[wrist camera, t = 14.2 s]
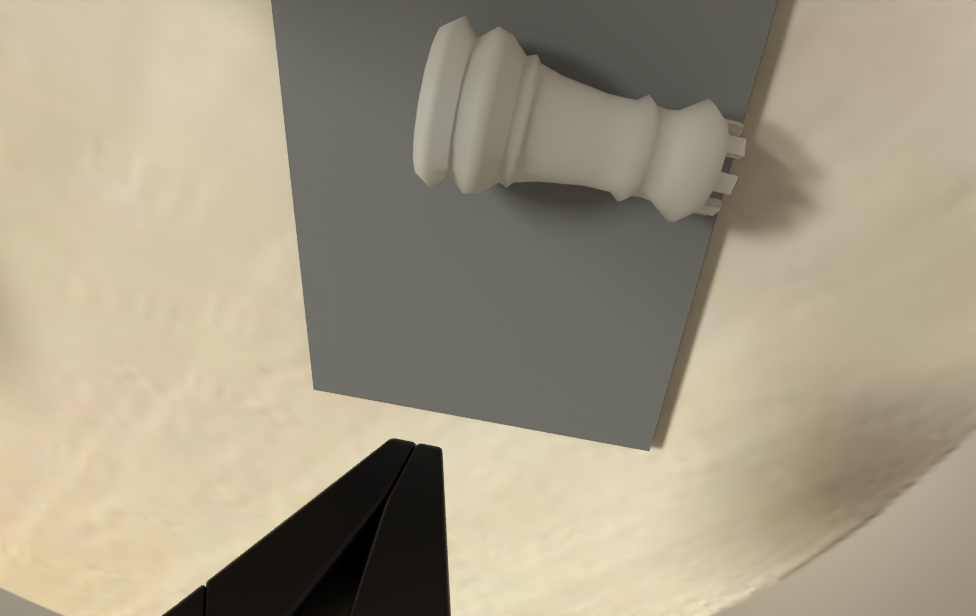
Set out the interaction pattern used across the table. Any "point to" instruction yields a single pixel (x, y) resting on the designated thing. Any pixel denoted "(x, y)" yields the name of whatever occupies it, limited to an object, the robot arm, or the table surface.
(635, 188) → the rook chess piece
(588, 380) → the rubber mat
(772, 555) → the table surface
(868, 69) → the table surface
